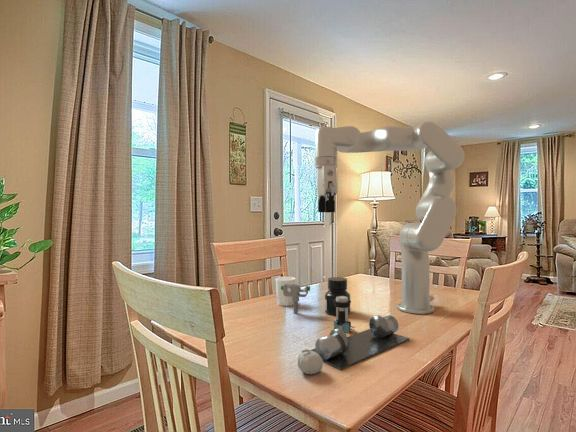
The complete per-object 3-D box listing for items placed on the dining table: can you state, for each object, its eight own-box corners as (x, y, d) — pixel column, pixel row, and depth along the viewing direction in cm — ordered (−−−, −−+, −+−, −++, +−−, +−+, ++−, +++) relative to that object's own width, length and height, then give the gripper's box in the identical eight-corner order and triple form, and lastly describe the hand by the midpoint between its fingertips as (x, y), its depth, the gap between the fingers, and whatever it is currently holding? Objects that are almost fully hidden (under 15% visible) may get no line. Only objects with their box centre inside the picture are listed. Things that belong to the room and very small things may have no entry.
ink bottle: (336, 307, 129) (335, 275, 129) (355, 312, 123) (355, 278, 123) (319, 312, 123) (319, 279, 122) (339, 318, 116) (339, 282, 116)
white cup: (272, 305, 133) (272, 279, 133) (280, 300, 140) (280, 275, 140) (291, 307, 130) (291, 281, 130) (298, 302, 137) (298, 277, 137)
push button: (357, 329, 105) (357, 297, 105) (351, 335, 101) (351, 301, 100) (337, 326, 108) (337, 294, 108) (330, 331, 104) (330, 298, 104)
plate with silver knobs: (374, 328, 106) (374, 307, 105) (409, 340, 96) (409, 317, 96) (306, 353, 88) (305, 328, 88) (340, 370, 79) (340, 342, 79)
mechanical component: (309, 315, 120) (309, 286, 120) (280, 313, 122) (280, 285, 122) (310, 312, 123) (310, 284, 123) (282, 311, 125) (282, 283, 125)
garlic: (293, 375, 77) (292, 352, 77) (301, 365, 82) (300, 343, 82) (319, 380, 74) (319, 356, 74) (325, 369, 80) (325, 346, 79)
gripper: (344, 160, 113) (344, 212, 113) (329, 166, 130) (329, 212, 130) (322, 159, 111) (322, 212, 112) (310, 166, 128) (310, 212, 129)
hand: (326, 212), depth 121 cm, fingers open, 9 cm apart
